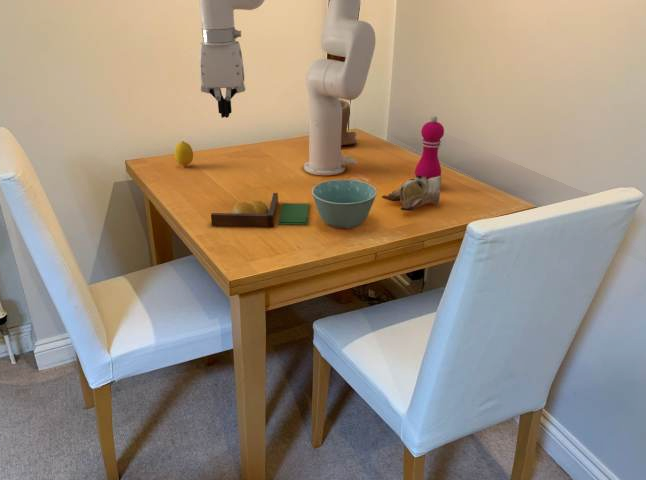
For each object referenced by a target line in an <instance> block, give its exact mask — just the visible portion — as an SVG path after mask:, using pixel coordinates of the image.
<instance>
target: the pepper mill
mask: <svg viewBox="0 0 646 480" xmlns="http://www.w3.org/2000/svg"><path fill="white" fill-rule="evenodd" d="M420 134H421V136H422V138H423V139H422V140H421V145H422V154H421V157H420V159H419V160H418V162H417V164H416V166H415V169H414V176H415V177H416V176H417V175H421V176H424V177H425V178H426V179H427V180H428V179H430V178H433V177H438V176H441V177H442V168H441V163H440V160H439V156H438V155H439V154H438V153H439V147H441V143H442V140H441V139H442V138H443V137H444V134H445V128H444V126H443V125H442V123H440V122H439V121H438V116H436V115H433V116H430V121H428V122H426V123H424V124H423V126H422V128H421V131H420Z"/></svg>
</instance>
